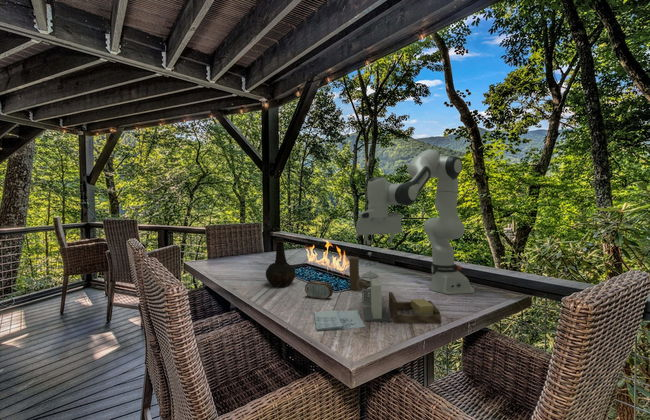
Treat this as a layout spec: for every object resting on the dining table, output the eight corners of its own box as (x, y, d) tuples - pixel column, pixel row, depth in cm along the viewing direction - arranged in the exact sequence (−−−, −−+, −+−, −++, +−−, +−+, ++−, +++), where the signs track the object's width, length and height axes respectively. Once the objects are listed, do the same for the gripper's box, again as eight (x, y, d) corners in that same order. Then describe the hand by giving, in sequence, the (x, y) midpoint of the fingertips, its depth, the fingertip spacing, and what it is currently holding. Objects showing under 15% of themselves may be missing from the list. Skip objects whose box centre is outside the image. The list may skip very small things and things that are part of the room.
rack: (429, 308, 144) (429, 291, 143) (441, 323, 127) (440, 303, 126) (388, 308, 145) (388, 291, 145) (394, 323, 128) (394, 303, 128)
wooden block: (367, 289, 176) (366, 256, 176) (366, 291, 172) (365, 258, 171) (351, 288, 179) (350, 256, 178) (349, 290, 174) (349, 258, 174)
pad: (385, 309, 144) (385, 308, 144) (390, 321, 130) (390, 320, 130) (363, 309, 144) (363, 308, 144) (365, 321, 130) (365, 320, 130)
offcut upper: (423, 305, 141) (423, 298, 140) (433, 312, 132) (433, 305, 132) (411, 306, 140) (411, 299, 140) (420, 313, 131) (419, 306, 131)
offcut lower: (426, 312, 140) (426, 305, 140) (433, 320, 131) (433, 313, 131) (412, 312, 140) (412, 306, 140) (418, 320, 131) (418, 313, 131)
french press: (376, 308, 145) (375, 254, 144) (353, 304, 151) (352, 252, 150) (384, 302, 153) (383, 251, 152) (362, 299, 159) (361, 249, 158)
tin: (333, 298, 161) (332, 282, 161) (330, 300, 158) (330, 283, 158) (307, 295, 167) (306, 279, 167) (304, 297, 164) (303, 281, 164)
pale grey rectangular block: (379, 309, 142) (378, 278, 142) (381, 318, 131) (381, 285, 131) (371, 309, 143) (370, 278, 142) (373, 318, 132) (372, 285, 131)
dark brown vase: (280, 279, 203) (279, 235, 202) (301, 282, 192) (300, 237, 191) (259, 285, 188) (258, 238, 187) (281, 290, 178) (280, 240, 177)
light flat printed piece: (313, 314, 141) (313, 310, 141) (358, 312, 142) (358, 307, 142) (315, 332, 122) (315, 327, 122) (367, 330, 123) (367, 324, 123)
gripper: (400, 211, 144) (401, 242, 145) (355, 213, 145) (356, 243, 146) (403, 212, 138) (404, 244, 138) (355, 214, 139) (357, 246, 139)
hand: (379, 244), depth 142 cm, fingers open, 8 cm apart
